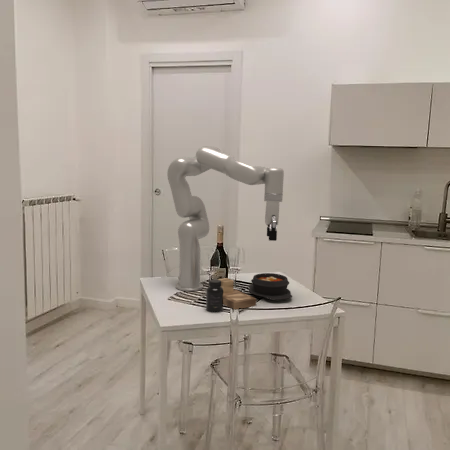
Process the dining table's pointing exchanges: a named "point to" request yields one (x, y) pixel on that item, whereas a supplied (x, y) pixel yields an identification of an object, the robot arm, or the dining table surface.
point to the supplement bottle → (214, 296)
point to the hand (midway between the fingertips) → (271, 238)
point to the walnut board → (238, 300)
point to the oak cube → (227, 285)
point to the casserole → (270, 286)
